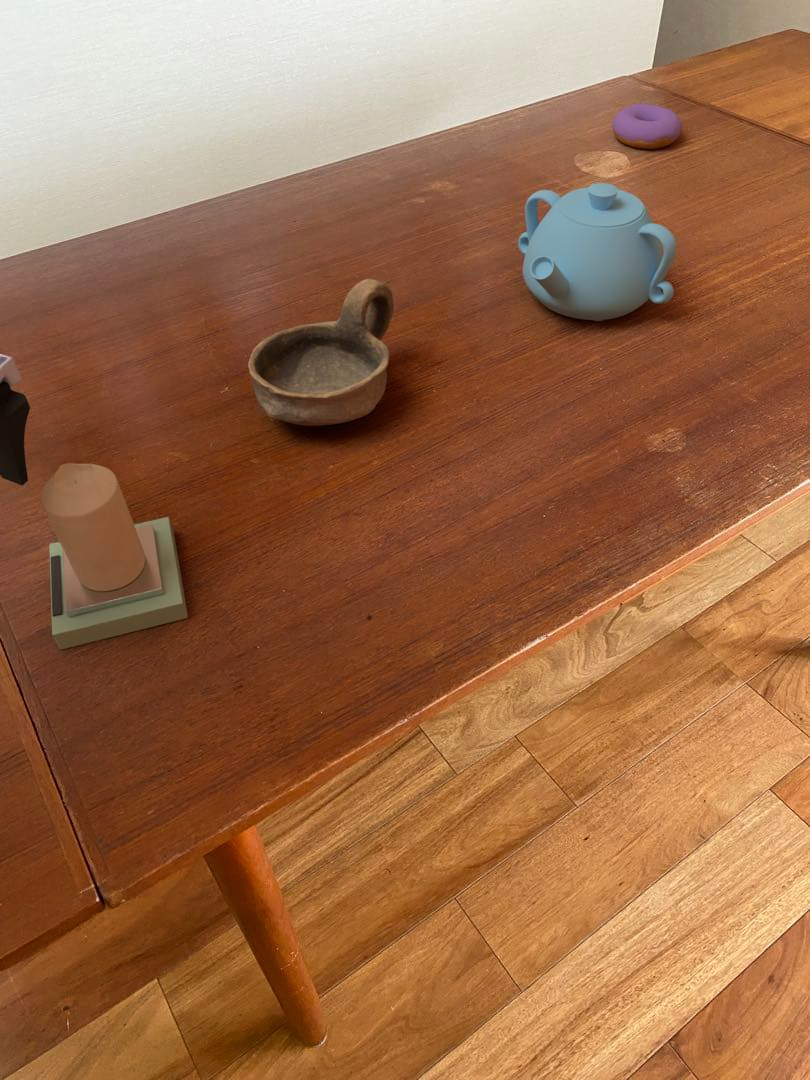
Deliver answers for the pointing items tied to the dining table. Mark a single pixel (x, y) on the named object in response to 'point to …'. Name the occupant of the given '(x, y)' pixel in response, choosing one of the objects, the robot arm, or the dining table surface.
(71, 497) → the candle
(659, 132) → the donut
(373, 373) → the bowl
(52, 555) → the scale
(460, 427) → the dining table surface
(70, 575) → the thin square metal plate
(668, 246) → the teapot
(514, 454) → the dining table surface
